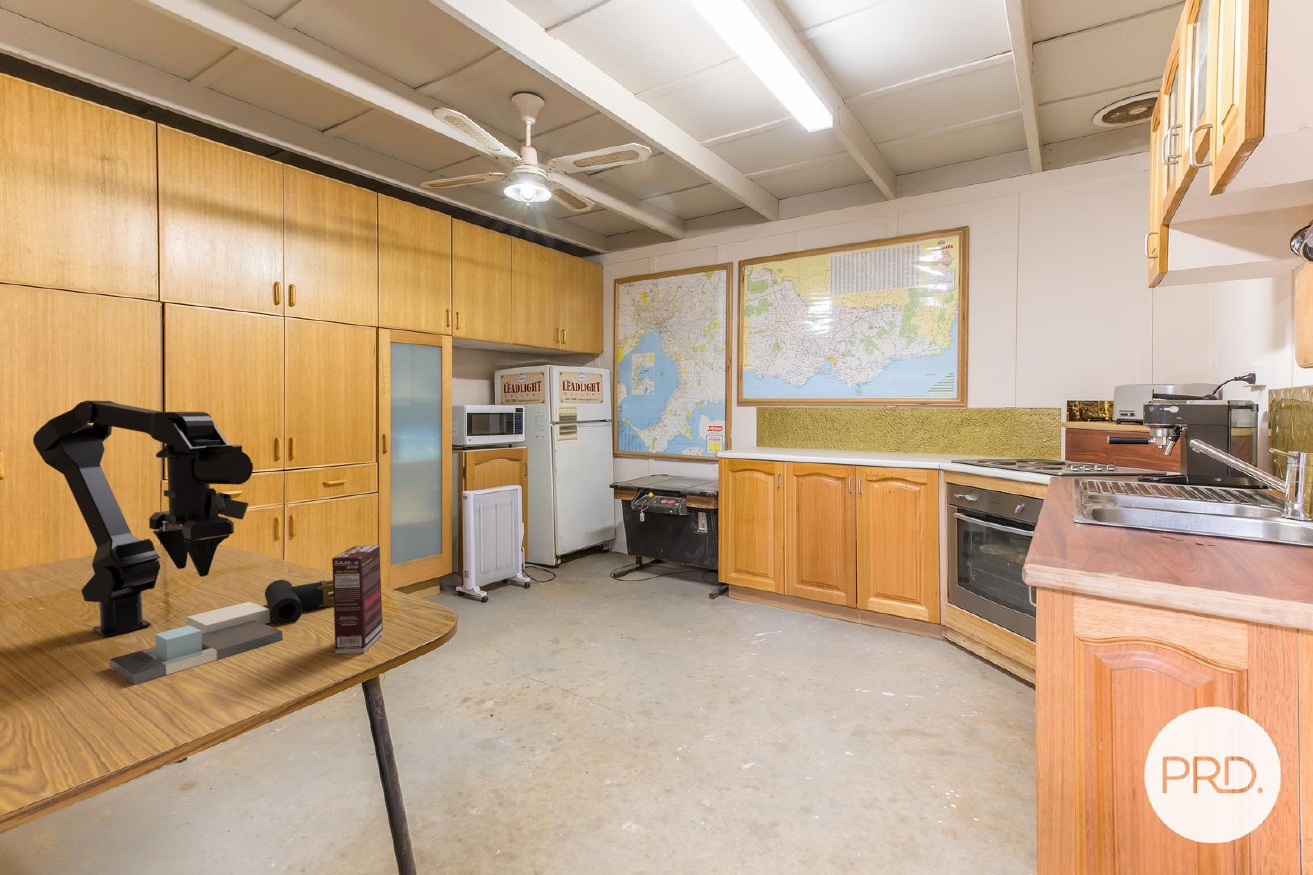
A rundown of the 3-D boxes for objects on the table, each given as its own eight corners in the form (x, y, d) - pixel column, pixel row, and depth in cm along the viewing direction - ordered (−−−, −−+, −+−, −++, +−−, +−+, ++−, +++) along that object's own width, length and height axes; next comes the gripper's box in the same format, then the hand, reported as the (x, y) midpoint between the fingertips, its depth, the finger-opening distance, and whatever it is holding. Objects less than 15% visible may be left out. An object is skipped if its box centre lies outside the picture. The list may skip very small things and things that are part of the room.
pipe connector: (328, 571, 128) (340, 587, 116) (329, 595, 128) (341, 614, 116) (264, 581, 121) (270, 600, 109) (265, 607, 121) (271, 629, 109)
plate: (109, 668, 91) (109, 659, 91) (254, 628, 108) (254, 620, 108) (134, 684, 86) (133, 674, 86) (282, 639, 103) (282, 631, 103)
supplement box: (355, 635, 105) (353, 545, 104) (383, 634, 105) (381, 544, 104) (332, 655, 96) (330, 557, 95) (364, 654, 97) (361, 556, 96)
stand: (187, 630, 107) (186, 616, 107) (249, 614, 115) (249, 601, 115) (206, 639, 103) (206, 625, 103) (270, 622, 111) (269, 609, 111)
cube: (156, 662, 94) (155, 634, 94) (190, 652, 98) (189, 625, 97) (167, 668, 91) (166, 639, 91) (202, 658, 95) (201, 630, 95)
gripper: (265, 482, 106) (268, 569, 107) (218, 476, 116) (221, 555, 117) (190, 489, 97) (194, 584, 97) (146, 482, 107) (149, 568, 107)
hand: (192, 572), depth 105 cm, fingers open, 9 cm apart
